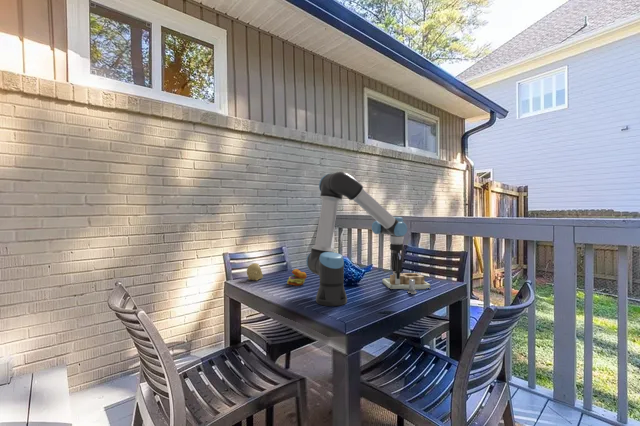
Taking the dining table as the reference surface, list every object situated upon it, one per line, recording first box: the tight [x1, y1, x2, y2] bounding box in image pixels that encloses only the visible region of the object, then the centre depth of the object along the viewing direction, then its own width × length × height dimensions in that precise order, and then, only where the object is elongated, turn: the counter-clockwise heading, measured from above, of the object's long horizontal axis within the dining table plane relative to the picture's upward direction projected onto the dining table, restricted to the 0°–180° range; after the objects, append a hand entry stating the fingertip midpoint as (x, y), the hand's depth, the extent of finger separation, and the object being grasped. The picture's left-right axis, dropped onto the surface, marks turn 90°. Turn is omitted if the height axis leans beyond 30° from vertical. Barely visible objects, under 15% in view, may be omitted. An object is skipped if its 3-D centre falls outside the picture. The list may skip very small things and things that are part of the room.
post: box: [406, 279, 418, 295], centre depth 175 cm, size 5×5×7 cm
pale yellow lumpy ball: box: [246, 262, 264, 281], centre depth 205 cm, size 10×12×11 cm
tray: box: [382, 277, 432, 290], centre depth 191 cm, size 23×17×2 cm
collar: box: [389, 272, 426, 285], centre depth 191 cm, size 18×11×5 cm, turn 94°
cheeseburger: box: [286, 268, 308, 287], centre depth 194 cm, size 10×11×10 cm
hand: (396, 283), depth 190 cm, fingers closed on collar, 3 cm apart
